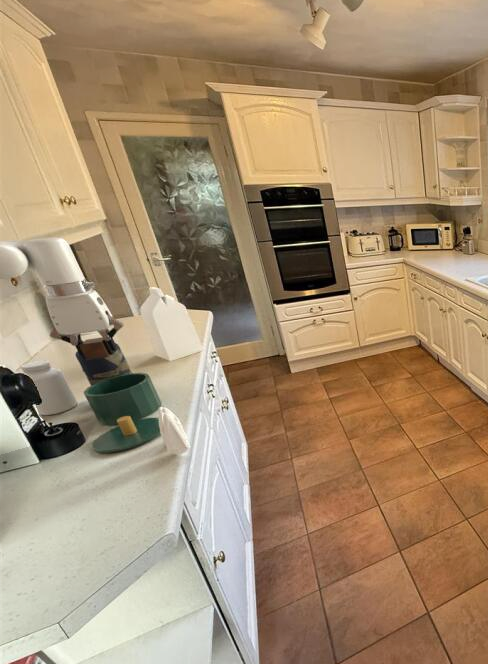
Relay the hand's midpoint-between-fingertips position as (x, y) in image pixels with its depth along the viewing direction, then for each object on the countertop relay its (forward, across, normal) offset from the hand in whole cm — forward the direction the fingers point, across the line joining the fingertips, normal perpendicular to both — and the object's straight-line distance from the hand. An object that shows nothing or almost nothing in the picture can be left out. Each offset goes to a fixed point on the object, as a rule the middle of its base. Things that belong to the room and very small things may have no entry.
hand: (100, 354), depth 106 cm
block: (0, 0, 0) cm, 0 cm away
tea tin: (+19, 0, -1) cm, 19 cm away
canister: (+19, +6, -15) cm, 25 cm away
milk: (+19, -3, -49) cm, 53 cm away
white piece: (+19, -16, +27) cm, 37 cm away
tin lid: (+18, -4, +15) cm, 24 cm away
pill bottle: (+19, +20, -15) cm, 31 cm away
